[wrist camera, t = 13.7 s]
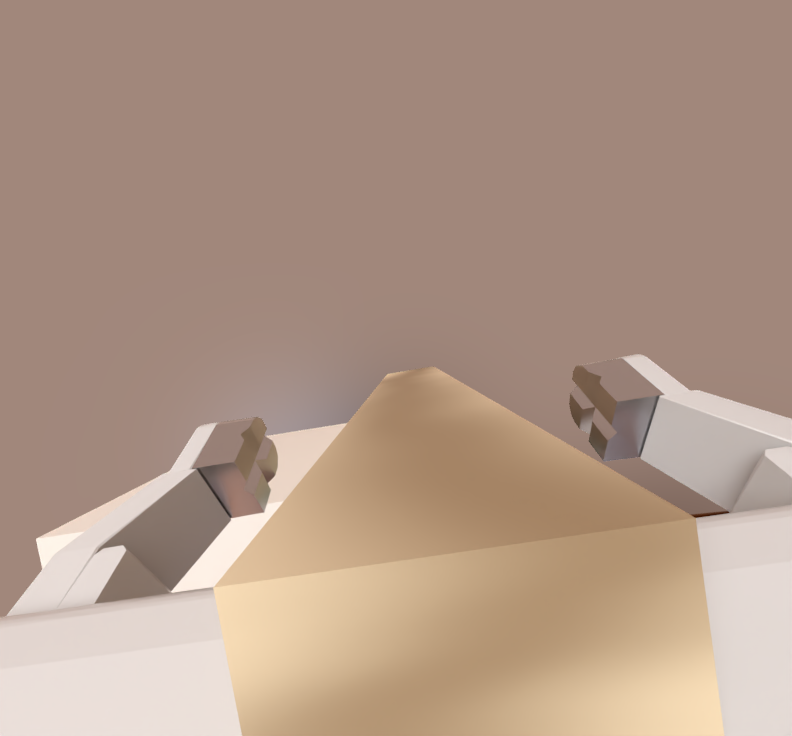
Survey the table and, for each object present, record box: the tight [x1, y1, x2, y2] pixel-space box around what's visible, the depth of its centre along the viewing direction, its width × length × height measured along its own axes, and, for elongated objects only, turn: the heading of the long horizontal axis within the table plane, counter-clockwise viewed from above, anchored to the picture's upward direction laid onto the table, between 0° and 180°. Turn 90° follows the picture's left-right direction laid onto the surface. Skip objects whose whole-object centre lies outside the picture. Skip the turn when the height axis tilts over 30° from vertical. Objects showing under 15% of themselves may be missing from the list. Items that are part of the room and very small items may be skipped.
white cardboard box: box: [36, 423, 347, 593], centre depth 20 cm, size 20×14×26 cm
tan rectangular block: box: [213, 367, 724, 736], centre depth 15 cm, size 4×24×3 cm, turn 179°
